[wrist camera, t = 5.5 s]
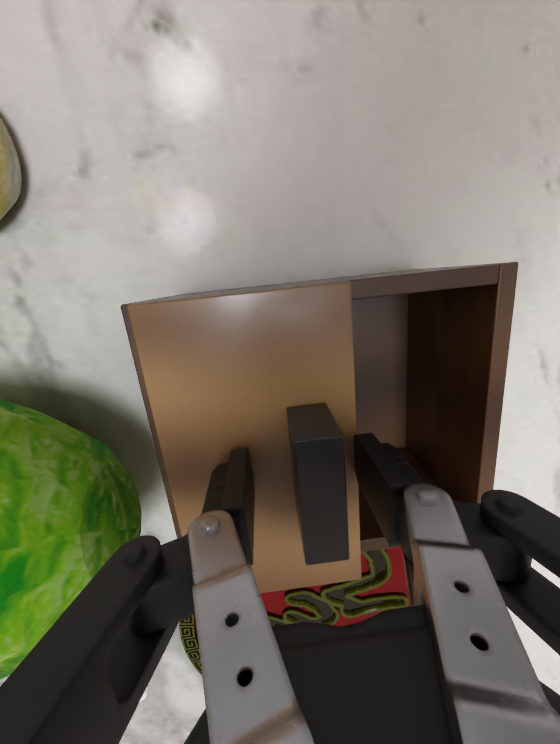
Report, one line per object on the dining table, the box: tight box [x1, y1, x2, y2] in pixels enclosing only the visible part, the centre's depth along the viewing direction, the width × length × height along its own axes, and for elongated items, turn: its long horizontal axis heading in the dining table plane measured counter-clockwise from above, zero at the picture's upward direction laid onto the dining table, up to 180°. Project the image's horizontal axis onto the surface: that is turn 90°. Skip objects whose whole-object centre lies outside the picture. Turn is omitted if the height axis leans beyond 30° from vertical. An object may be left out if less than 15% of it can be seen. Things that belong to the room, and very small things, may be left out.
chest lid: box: [127, 281, 361, 593], centre depth 12 cm, size 14×8×3 cm, turn 6°
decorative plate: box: [179, 547, 410, 675], centre depth 29 cm, size 25×1×25 cm
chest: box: [121, 262, 518, 552], centre depth 19 cm, size 14×16×10 cm
